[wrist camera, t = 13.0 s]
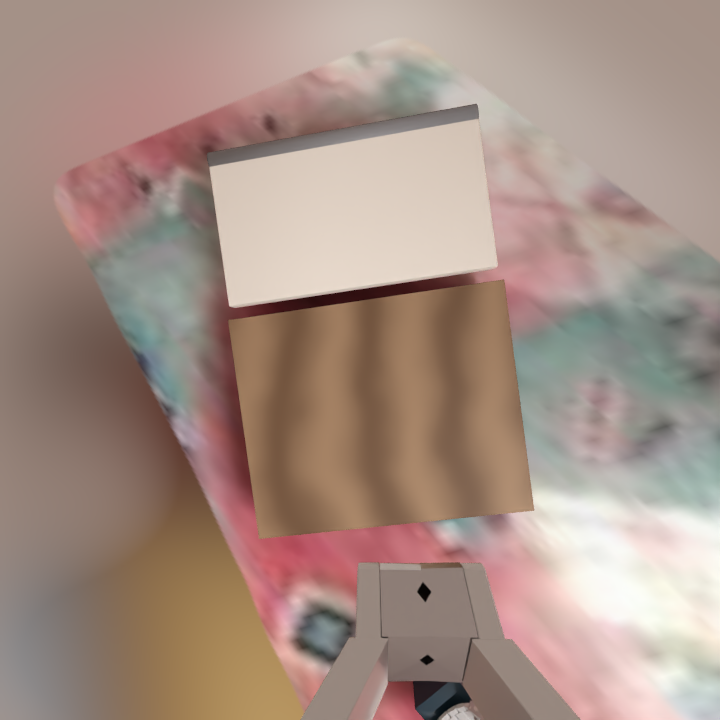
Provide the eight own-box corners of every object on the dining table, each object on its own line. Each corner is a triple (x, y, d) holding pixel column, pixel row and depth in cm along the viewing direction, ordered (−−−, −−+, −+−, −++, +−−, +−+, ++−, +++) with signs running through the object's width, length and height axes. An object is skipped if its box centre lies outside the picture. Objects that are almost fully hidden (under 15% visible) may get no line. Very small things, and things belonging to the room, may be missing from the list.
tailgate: (492, 269, 31) (472, 112, 30) (498, 265, 29) (476, 99, 29) (236, 308, 32) (214, 158, 32) (228, 306, 31) (205, 148, 30)
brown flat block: (490, 287, 34) (504, 279, 30) (517, 491, 34) (534, 510, 30) (245, 323, 35) (227, 320, 31) (273, 517, 36) (259, 538, 32)
